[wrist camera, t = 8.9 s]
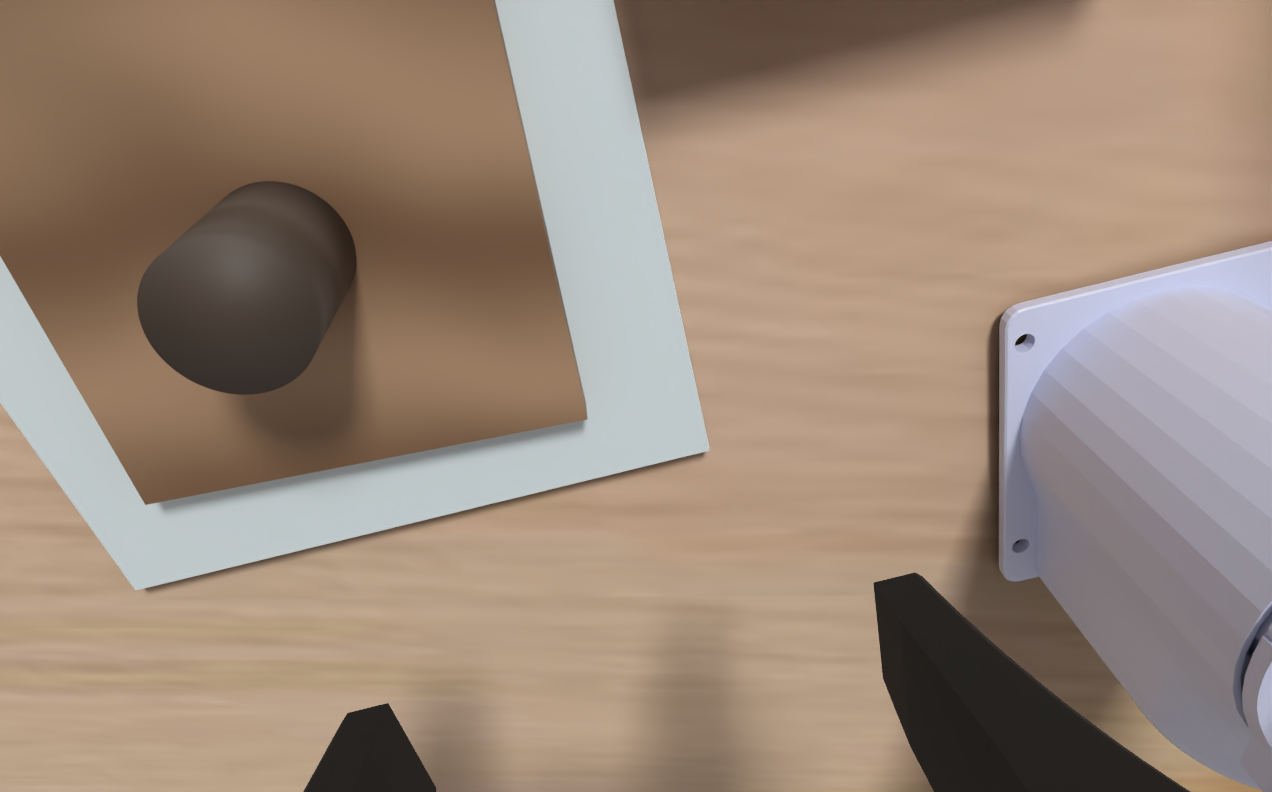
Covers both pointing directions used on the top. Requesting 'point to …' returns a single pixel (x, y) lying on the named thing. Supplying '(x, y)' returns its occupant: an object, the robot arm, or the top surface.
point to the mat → (460, 474)
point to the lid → (280, 231)
